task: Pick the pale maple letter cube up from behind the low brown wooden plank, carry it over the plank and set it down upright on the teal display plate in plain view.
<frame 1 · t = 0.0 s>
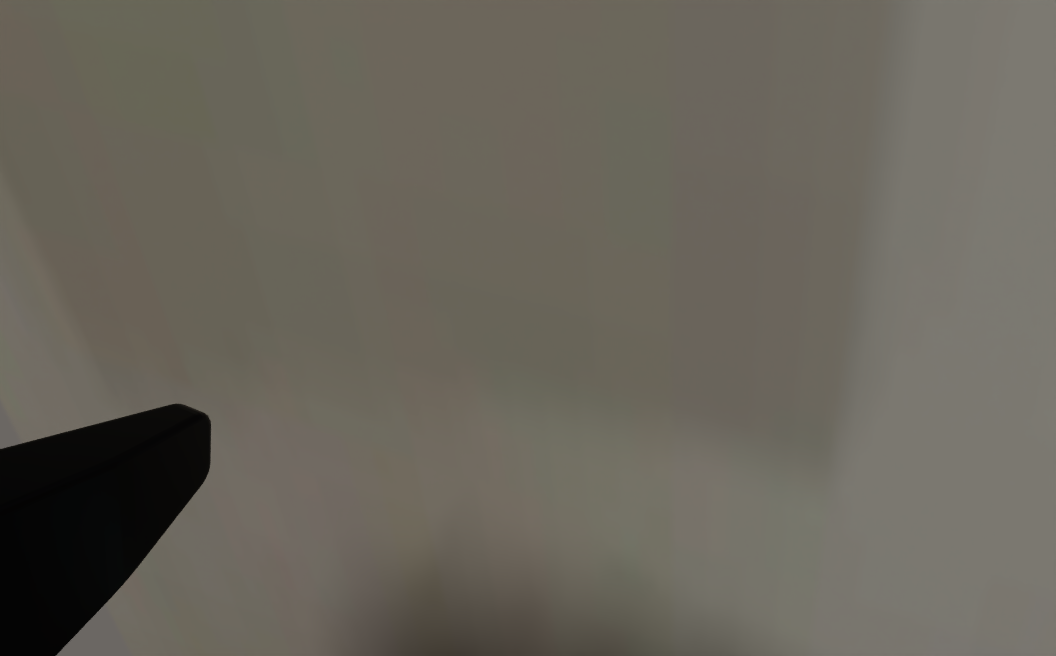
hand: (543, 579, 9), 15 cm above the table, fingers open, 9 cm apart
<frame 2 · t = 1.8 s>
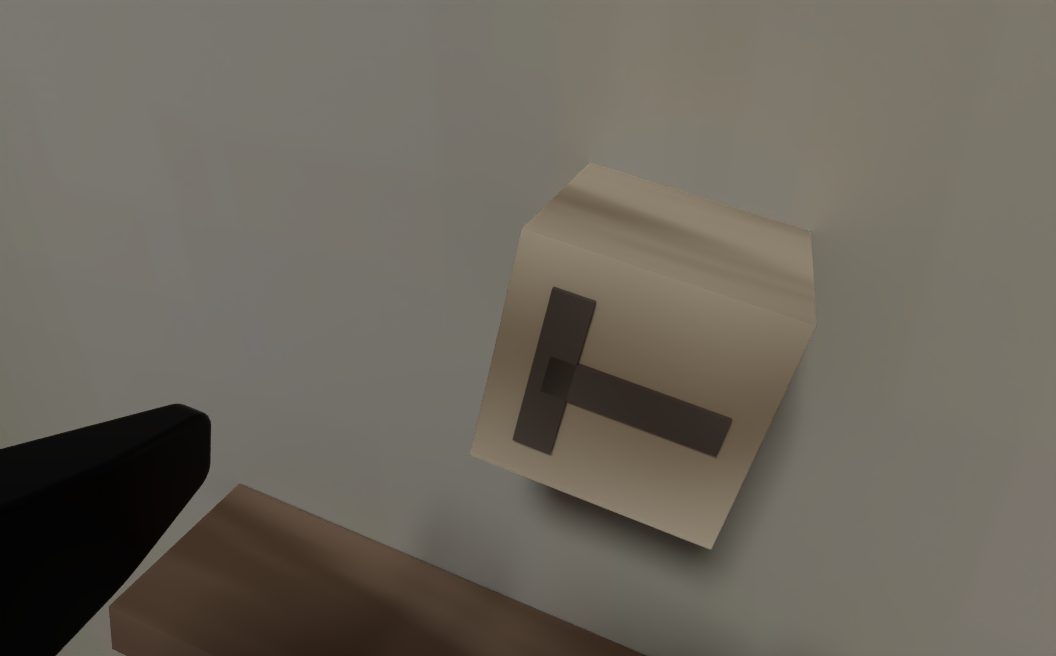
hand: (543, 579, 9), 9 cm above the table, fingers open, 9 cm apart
maple cube: (663, 293, 16), on the table
brown wooden plank: (545, 634, 21), on the table
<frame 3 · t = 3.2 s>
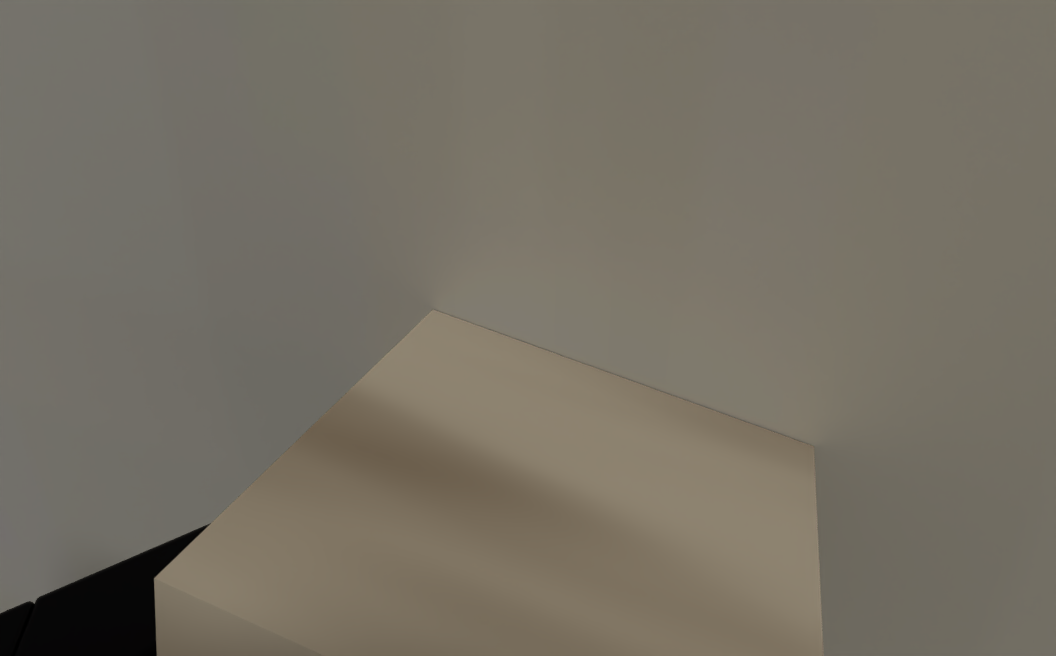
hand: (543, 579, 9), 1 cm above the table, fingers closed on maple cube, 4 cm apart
maple cube: (566, 520, 10), on the table, touching gripper
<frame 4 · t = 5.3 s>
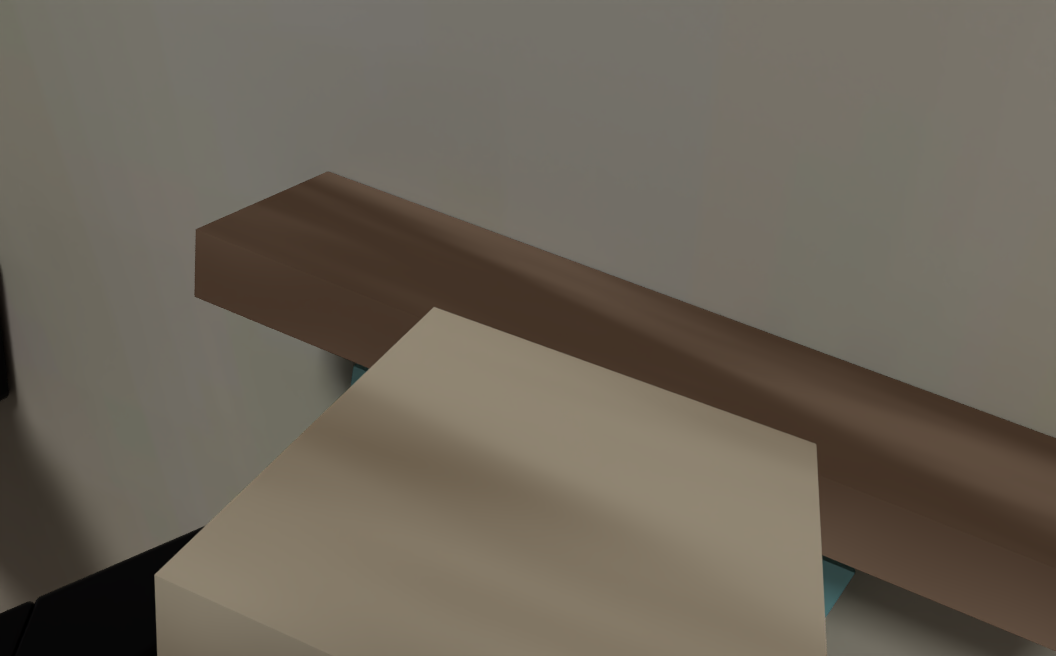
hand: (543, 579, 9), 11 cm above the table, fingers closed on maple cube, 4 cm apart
maple cube: (568, 518, 10), point 10 cm above the table, touching gripper
brown wooden plank: (682, 333, 18), on the table
display plate: (552, 567, 23), on the table
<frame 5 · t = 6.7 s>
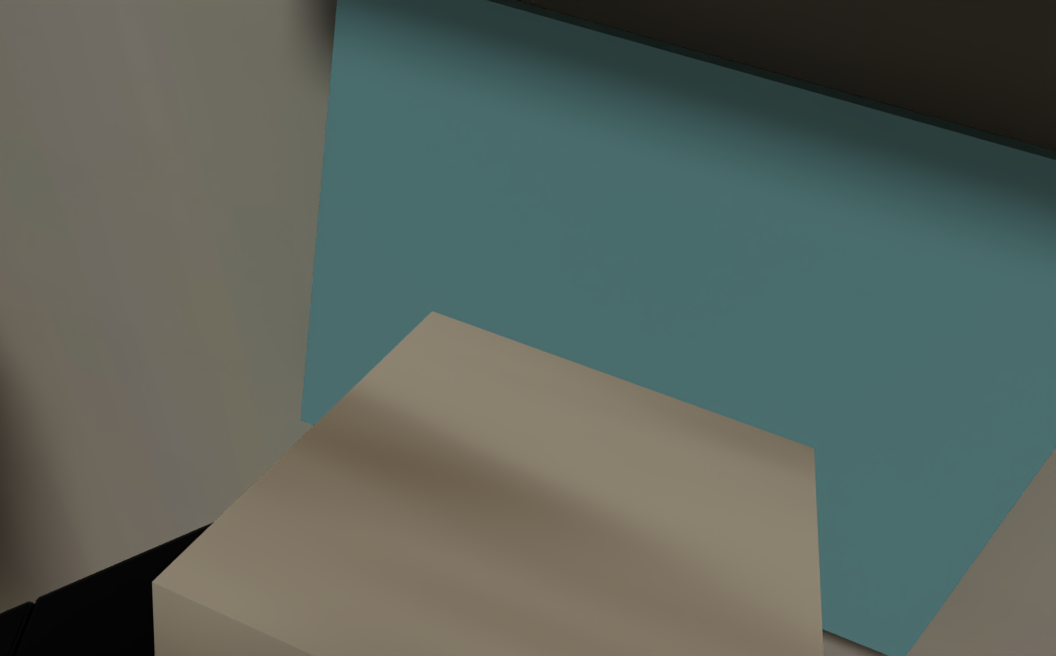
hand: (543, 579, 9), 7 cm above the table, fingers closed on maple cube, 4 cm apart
maple cube: (566, 522, 10), point 6 cm above the table, touching gripper
display plate: (654, 319, 15), on the table
when the fingers open (3 cm above the table, at t = 7.7 s): maple cube drops 1 cm, resting on display plate.
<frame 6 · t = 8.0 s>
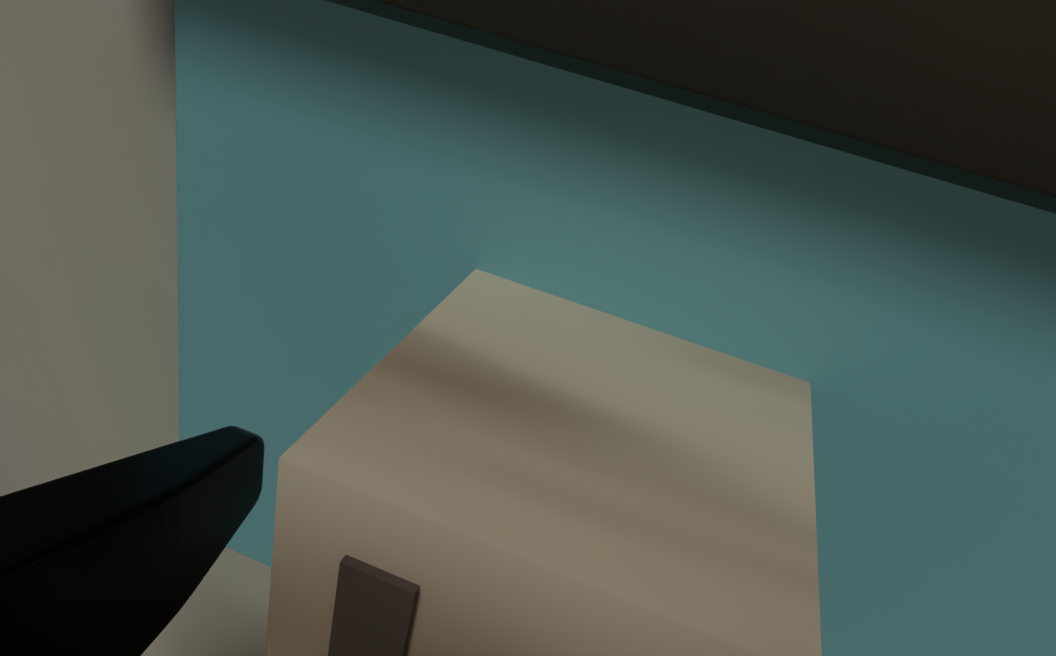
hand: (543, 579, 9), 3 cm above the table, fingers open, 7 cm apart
maple cube: (592, 457, 11), point 1 cm above the table, touching display plate
display plate: (609, 421, 12), on the table
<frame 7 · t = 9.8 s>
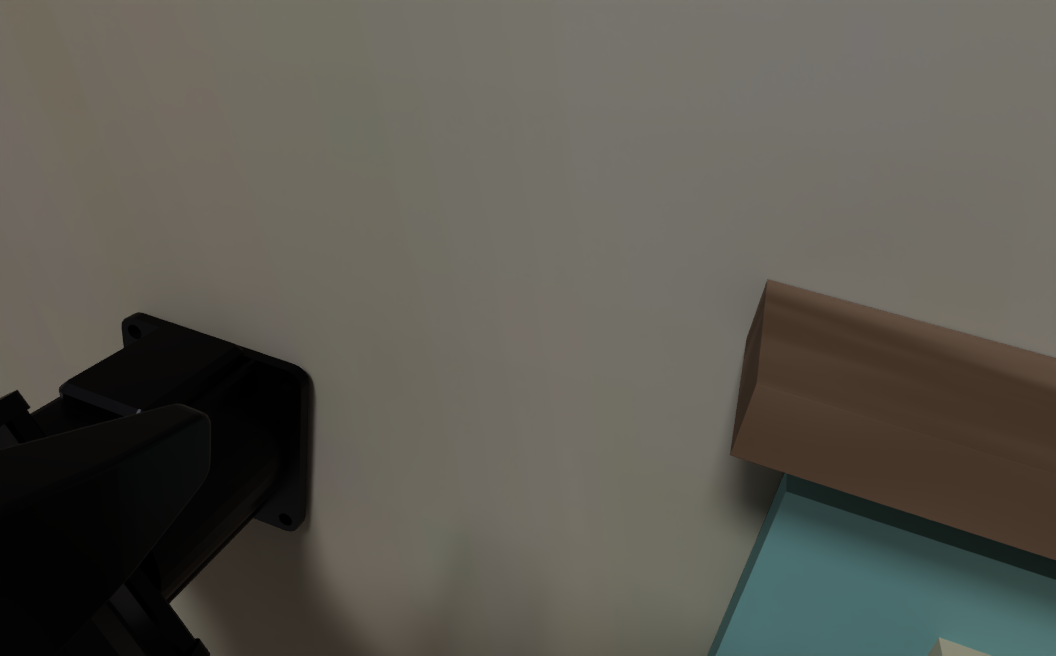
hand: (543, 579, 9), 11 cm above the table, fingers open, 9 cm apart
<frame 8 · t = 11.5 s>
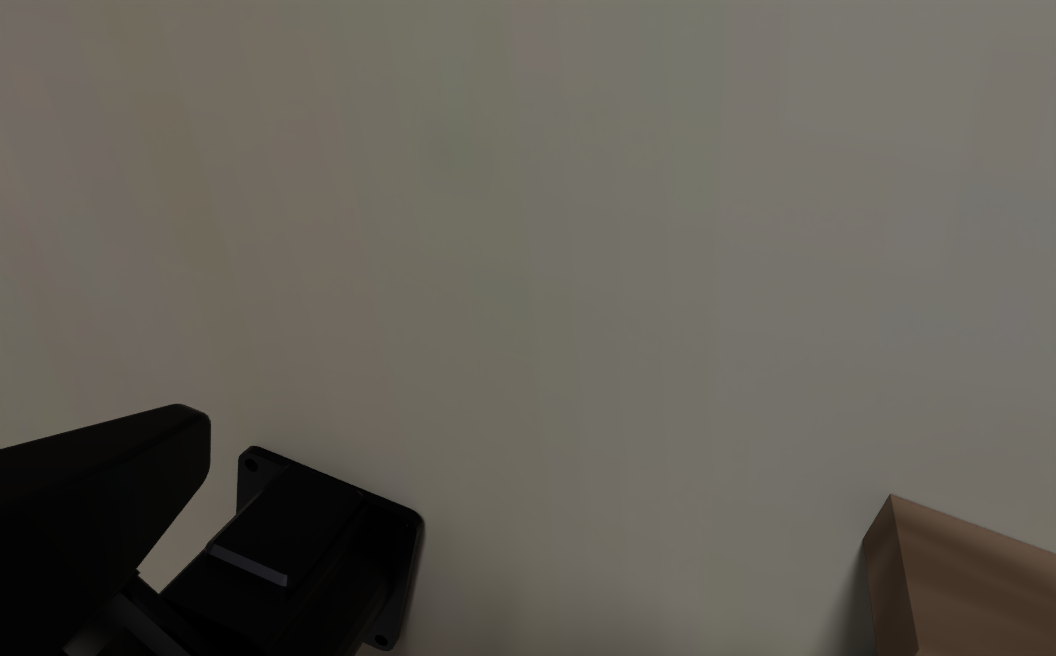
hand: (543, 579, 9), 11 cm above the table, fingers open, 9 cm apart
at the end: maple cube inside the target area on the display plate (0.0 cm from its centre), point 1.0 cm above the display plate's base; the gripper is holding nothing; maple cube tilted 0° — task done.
